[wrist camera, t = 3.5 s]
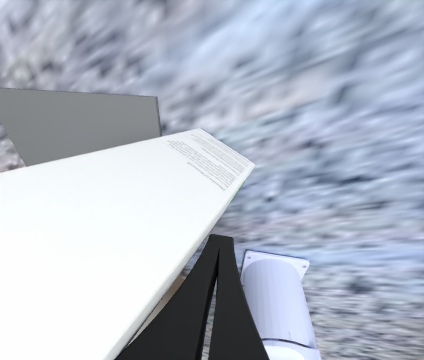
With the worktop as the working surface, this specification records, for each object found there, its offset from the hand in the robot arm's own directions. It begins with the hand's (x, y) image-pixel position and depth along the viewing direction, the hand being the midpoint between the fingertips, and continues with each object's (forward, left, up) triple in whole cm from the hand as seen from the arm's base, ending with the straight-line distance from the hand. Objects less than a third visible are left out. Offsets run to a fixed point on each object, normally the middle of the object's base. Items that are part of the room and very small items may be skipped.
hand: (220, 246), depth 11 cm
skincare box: (0, +2, -8) cm, 9 cm away
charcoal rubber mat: (0, +16, -9) cm, 18 cm away
